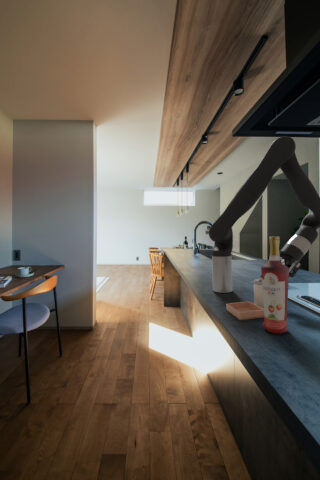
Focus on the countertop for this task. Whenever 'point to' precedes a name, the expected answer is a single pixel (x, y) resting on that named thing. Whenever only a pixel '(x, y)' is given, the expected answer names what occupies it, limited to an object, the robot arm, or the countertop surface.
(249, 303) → the dish
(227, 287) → the robot arm
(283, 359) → the countertop surface
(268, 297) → the liquor
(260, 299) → the battery cell
